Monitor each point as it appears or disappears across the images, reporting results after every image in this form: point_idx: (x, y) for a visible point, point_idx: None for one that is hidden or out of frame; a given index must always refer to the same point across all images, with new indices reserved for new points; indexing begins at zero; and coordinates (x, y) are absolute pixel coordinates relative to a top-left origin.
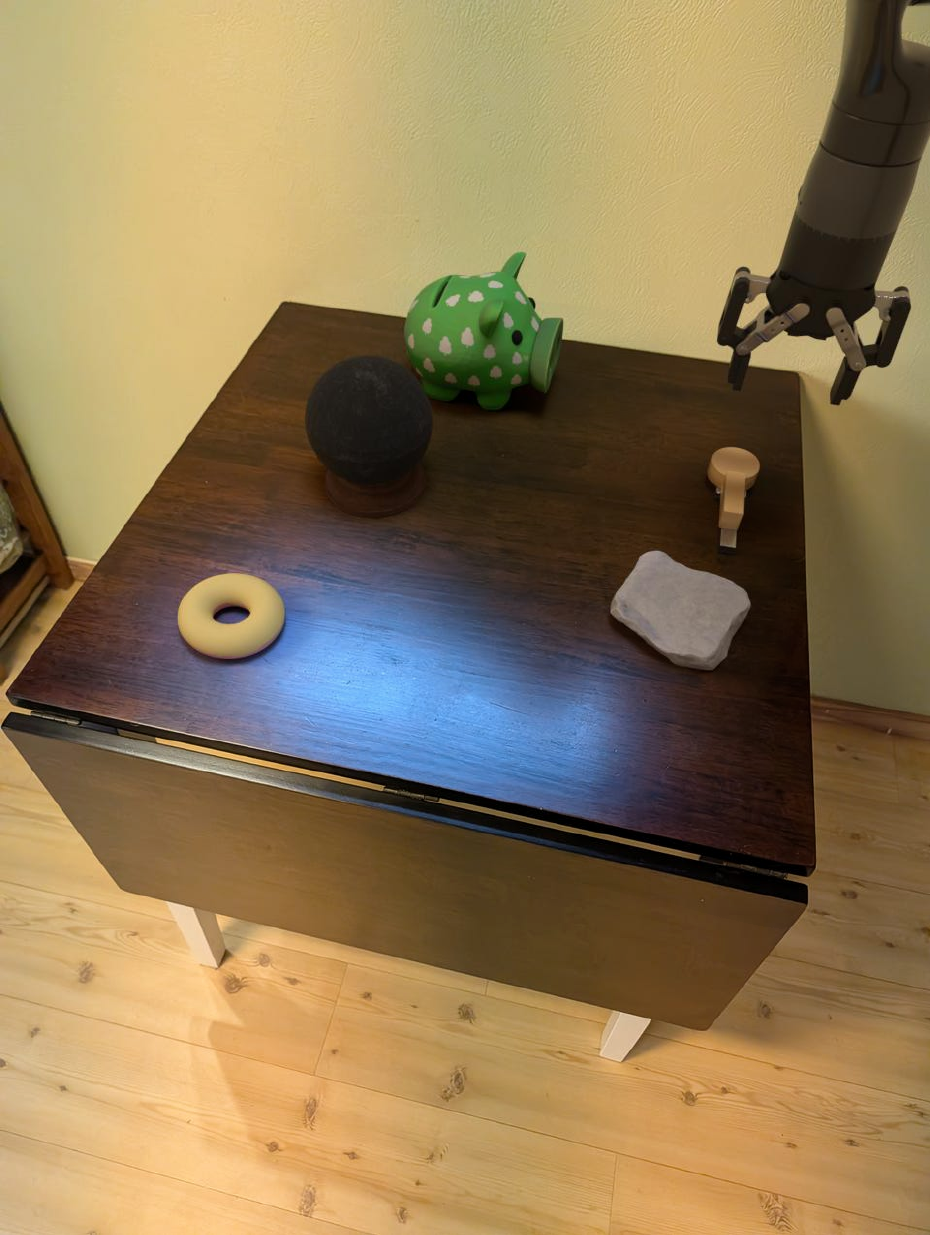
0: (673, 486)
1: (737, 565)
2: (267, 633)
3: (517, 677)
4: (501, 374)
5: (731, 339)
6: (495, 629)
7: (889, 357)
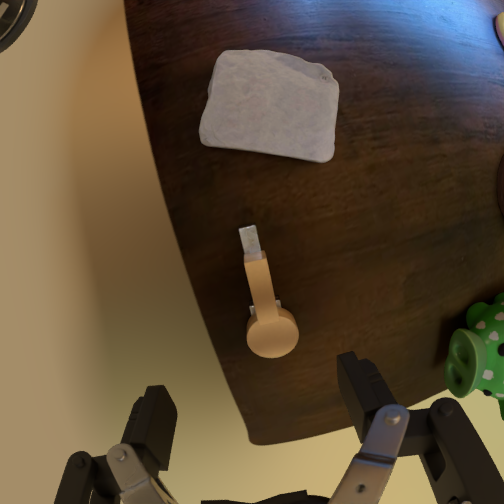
0: (321, 295)
1: (230, 214)
2: (502, 22)
3: (369, 13)
4: (495, 318)
5: (433, 419)
6: (407, 53)
7: (69, 469)
